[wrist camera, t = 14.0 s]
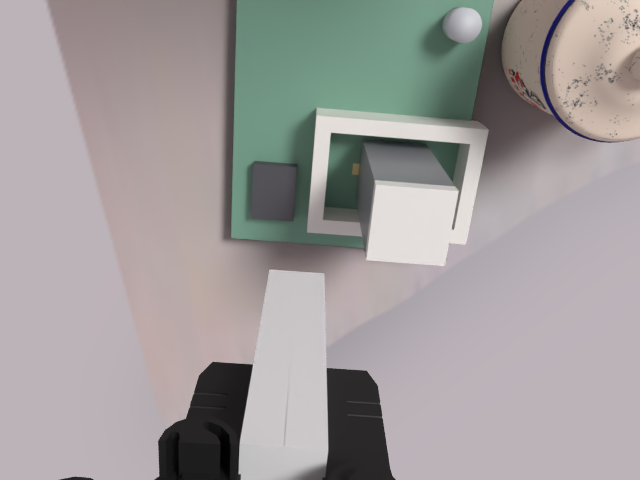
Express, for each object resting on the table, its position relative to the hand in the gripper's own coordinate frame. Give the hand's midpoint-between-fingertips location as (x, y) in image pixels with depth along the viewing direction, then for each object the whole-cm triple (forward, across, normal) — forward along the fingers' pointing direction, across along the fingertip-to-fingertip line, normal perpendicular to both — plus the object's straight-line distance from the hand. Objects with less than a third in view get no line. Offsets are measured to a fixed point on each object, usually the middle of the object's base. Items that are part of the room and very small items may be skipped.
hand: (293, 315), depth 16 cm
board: (+26, +3, 0) cm, 27 cm away
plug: (+25, +6, -3) cm, 26 cm away
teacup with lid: (+27, +18, +6) cm, 33 cm away
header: (+25, +6, -3) cm, 26 cm away
